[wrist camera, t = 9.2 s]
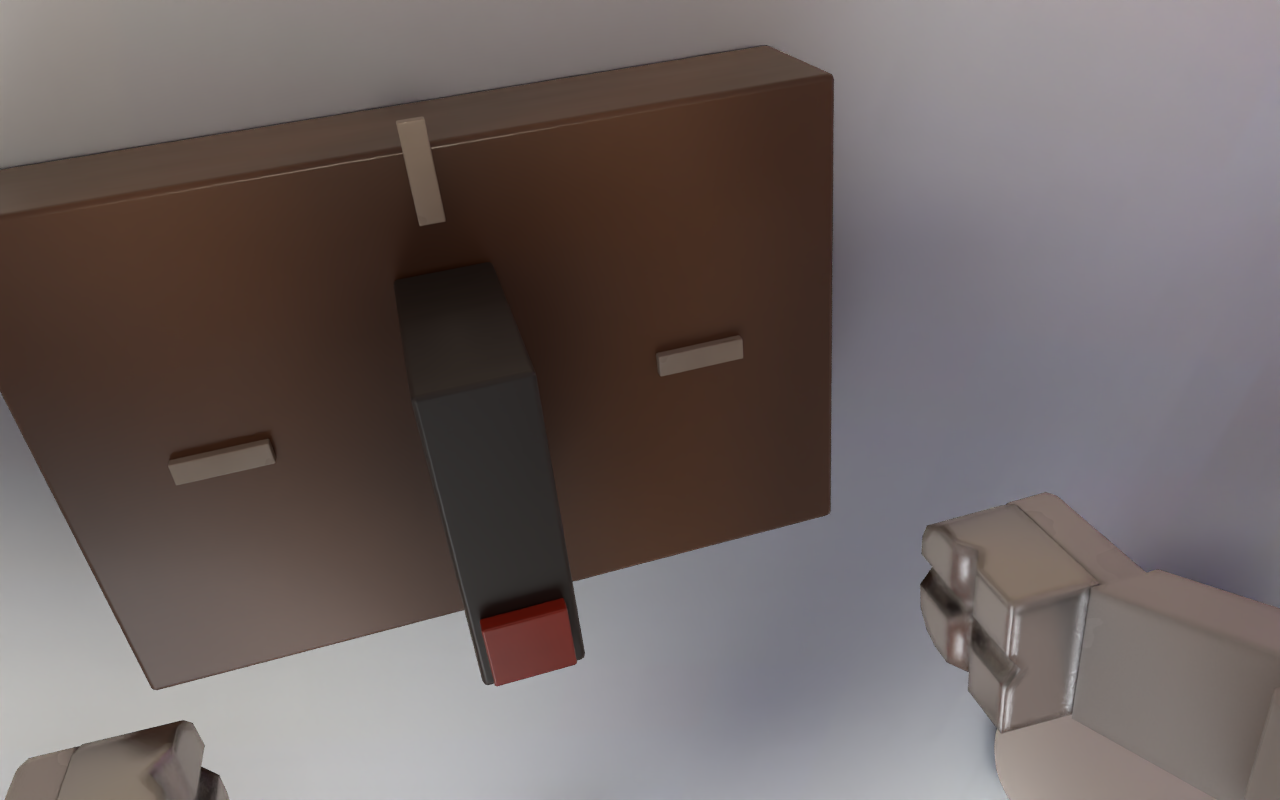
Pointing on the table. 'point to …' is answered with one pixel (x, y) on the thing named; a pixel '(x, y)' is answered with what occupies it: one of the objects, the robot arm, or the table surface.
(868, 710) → the table surface
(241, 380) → the clock
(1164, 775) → the mug
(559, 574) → the dial
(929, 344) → the table surface
